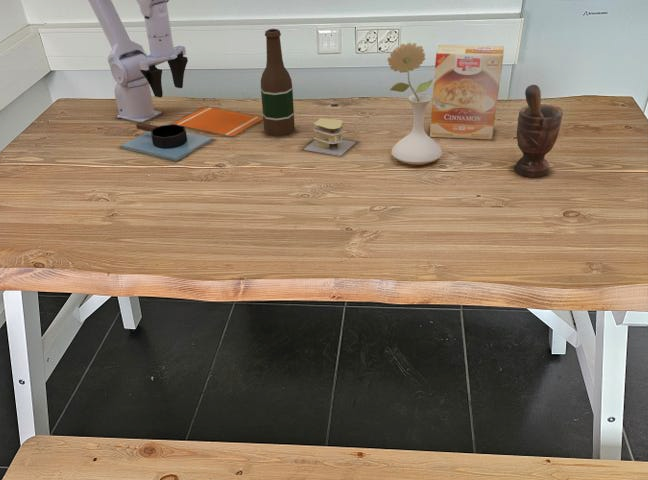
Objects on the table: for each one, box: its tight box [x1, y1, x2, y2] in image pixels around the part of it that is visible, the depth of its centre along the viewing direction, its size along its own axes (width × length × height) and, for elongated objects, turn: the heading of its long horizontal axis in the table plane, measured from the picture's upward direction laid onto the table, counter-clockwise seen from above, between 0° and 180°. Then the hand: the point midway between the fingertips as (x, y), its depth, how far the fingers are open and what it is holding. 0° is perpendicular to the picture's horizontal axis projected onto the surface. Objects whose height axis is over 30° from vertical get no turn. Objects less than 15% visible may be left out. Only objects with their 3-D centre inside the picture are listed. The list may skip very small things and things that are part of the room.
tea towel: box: [172, 106, 263, 137], centre depth 181 cm, size 20×14×1 cm
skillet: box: [135, 122, 187, 149], centre depth 169 cm, size 14×8×3 cm, turn 57°
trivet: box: [120, 125, 214, 162], centre depth 170 cm, size 18×14×1 cm
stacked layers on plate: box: [303, 117, 357, 157], centre depth 163 cm, size 10×9×6 cm
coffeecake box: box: [429, 44, 505, 141], centre depth 161 cm, size 15×7×20 cm, turn 76°
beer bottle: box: [260, 28, 295, 138], centre depth 165 cm, size 8×8×24 cm
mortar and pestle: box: [513, 84, 564, 178], centre depth 141 cm, size 12×9×20 cm
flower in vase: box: [387, 42, 443, 165], centre depth 149 cm, size 13×11×25 cm
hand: (168, 92), depth 173 cm, fingers open, 7 cm apart
